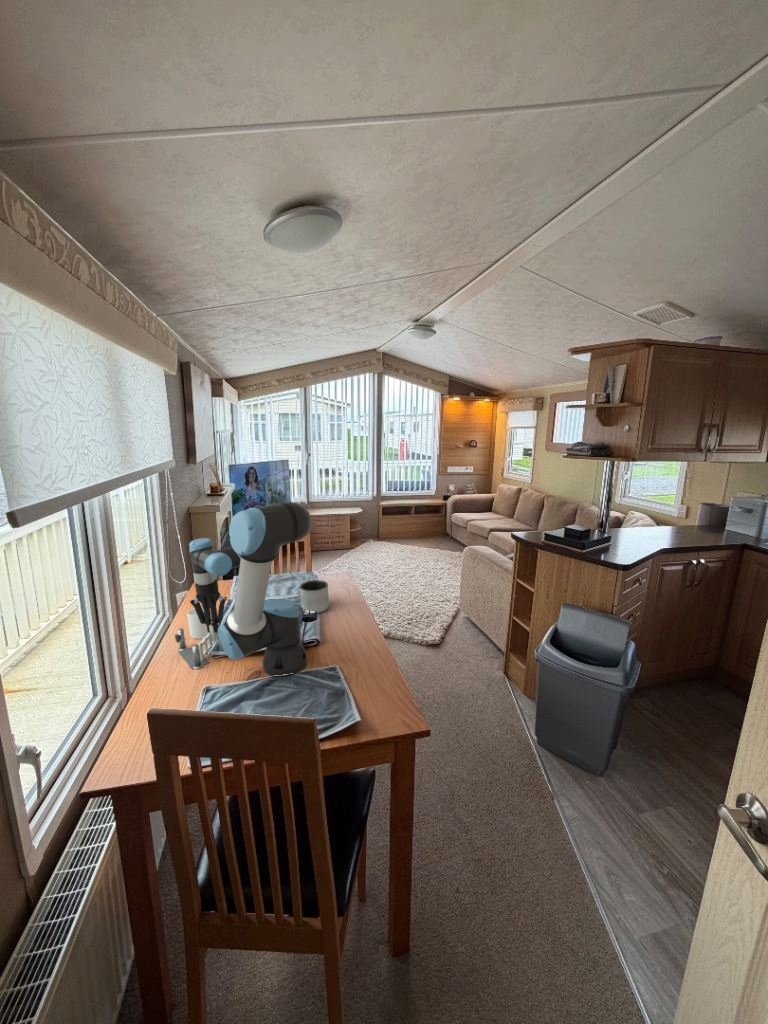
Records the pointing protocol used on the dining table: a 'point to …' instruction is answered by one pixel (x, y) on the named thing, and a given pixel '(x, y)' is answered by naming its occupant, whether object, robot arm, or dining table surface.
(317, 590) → the planter
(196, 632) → the mug
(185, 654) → the grey flat plate
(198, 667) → the gateposts
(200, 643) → the gate
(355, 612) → the dining table surface
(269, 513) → the robot arm
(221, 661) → the dining table surface
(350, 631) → the dining table surface
